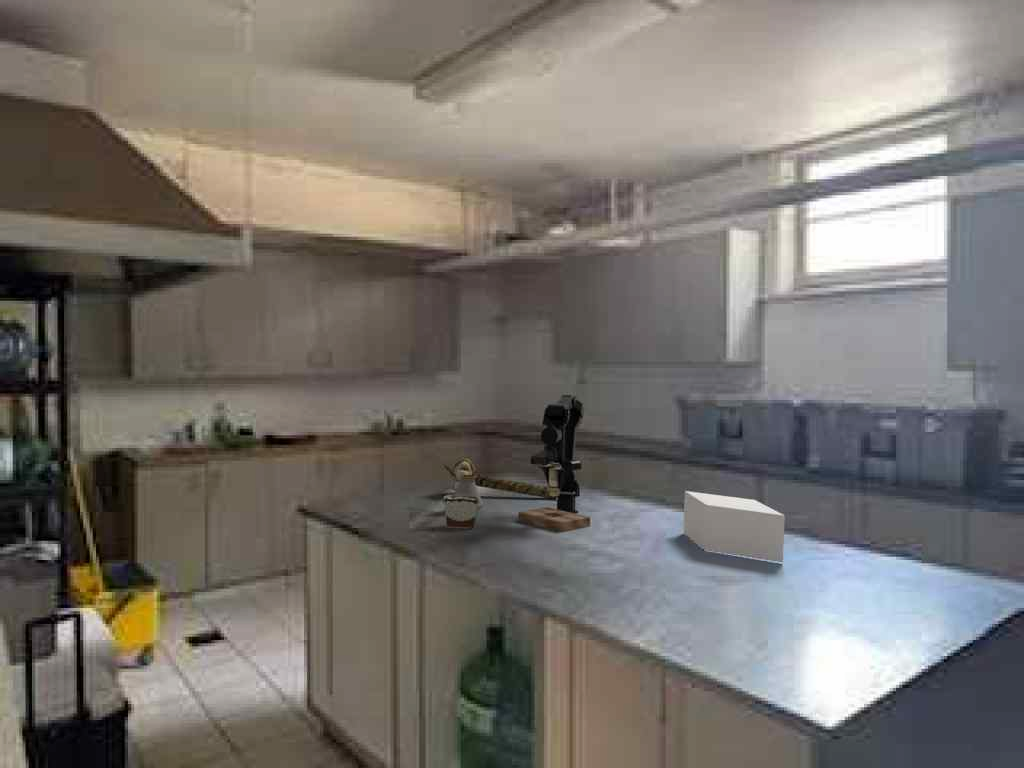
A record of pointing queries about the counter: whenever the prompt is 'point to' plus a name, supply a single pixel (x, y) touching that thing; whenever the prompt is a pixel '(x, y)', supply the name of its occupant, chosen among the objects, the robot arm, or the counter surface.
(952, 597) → the counter surface
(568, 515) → the walnut board
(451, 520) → the food container
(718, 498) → the box
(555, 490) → the birch peg
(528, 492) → the decorative mallet
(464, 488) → the coffee pot
